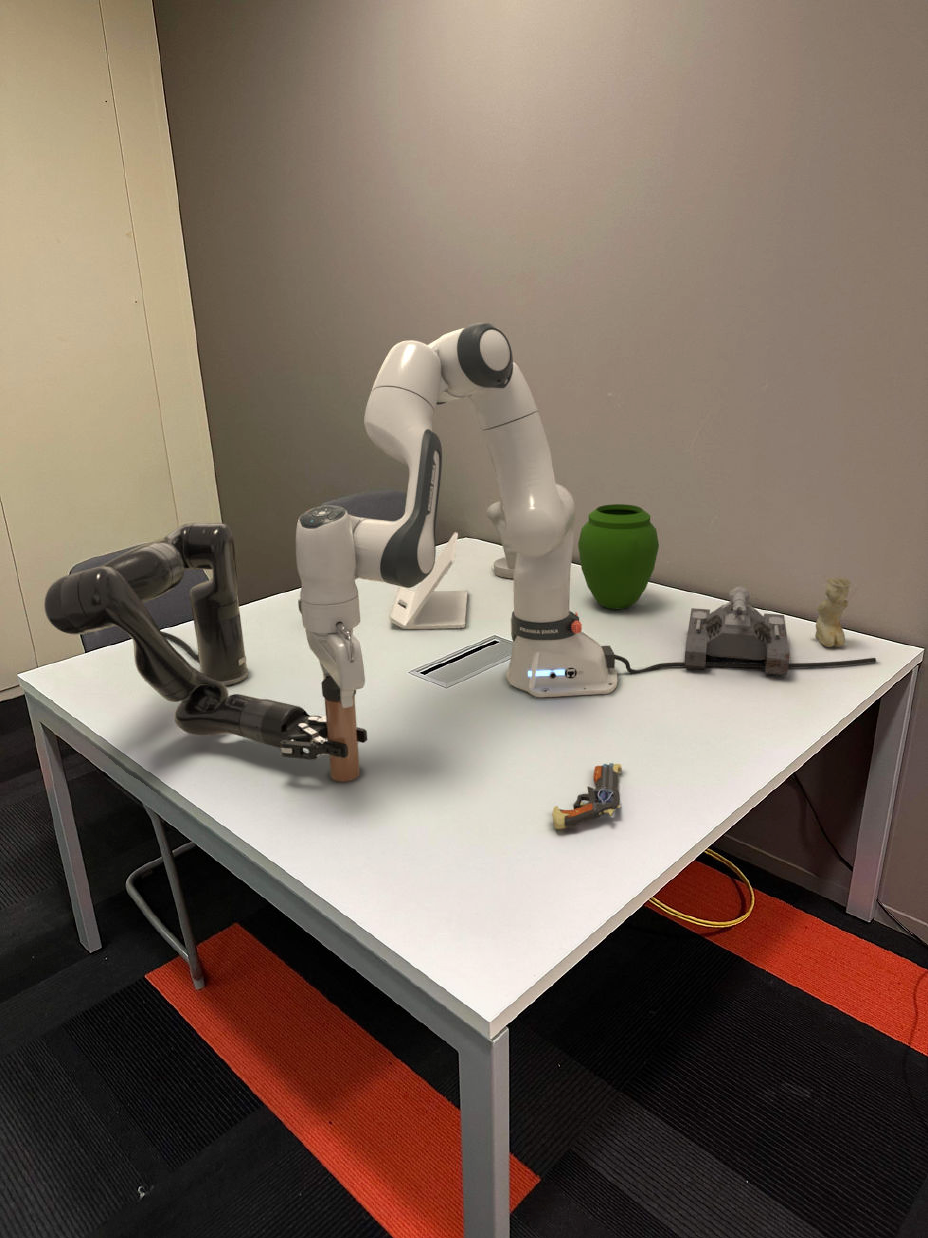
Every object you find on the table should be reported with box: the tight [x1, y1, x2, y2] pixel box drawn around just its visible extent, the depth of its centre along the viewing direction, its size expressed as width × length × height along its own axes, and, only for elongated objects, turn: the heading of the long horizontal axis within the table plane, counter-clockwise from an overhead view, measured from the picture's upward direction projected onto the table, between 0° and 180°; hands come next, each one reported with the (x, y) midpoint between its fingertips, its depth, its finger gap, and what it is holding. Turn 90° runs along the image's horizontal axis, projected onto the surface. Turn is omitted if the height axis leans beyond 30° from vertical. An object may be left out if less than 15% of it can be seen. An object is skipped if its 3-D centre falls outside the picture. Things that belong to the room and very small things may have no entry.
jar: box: [323, 694, 361, 783], centre depth 139 cm, size 5×5×16 cm
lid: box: [320, 677, 357, 701], centre depth 136 cm, size 5×5×2 cm
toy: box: [683, 586, 791, 676], centre depth 181 cm, size 25×20×15 cm
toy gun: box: [552, 762, 623, 830], centre depth 132 cm, size 3×19×10 cm
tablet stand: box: [388, 531, 468, 630], centre depth 211 cm, size 18×25×17 cm
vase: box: [577, 503, 660, 610], centre depth 210 cm, size 20×20×24 cm
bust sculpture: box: [485, 472, 517, 579], centre depth 231 cm, size 16×24×35 cm
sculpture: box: [814, 576, 852, 648], centre depth 185 cm, size 6×7×15 cm
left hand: (356, 743), depth 138 cm, fingers closed on jar, 5 cm apart
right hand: (338, 694), depth 136 cm, fingers open, 8 cm apart
